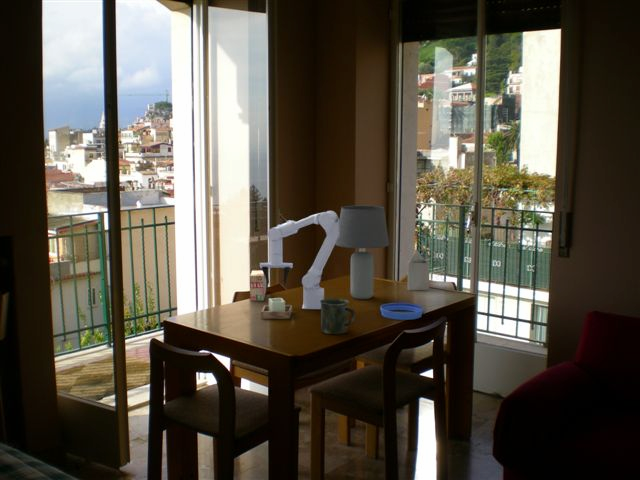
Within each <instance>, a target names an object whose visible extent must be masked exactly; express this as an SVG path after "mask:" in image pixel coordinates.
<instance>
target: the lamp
mask: <svg viewBox="0 0 640 480" xmlns="http://www.w3.org/2000/svg"><path fill="white" fill-rule="evenodd" d="M340 208H341V209H340V215H339V232H340V235H339V237H338V239H337V241H336V243H335V245H336V246H337V247H341V248H346V249H347V248H349V249H359V251H355V252H354V253H352V254H351V257H350V291H349V292H350V296H351V297H352V298H353V299H356V300H369V299H371V298H372V297H373V295H374V276H375V275H374V270H375V269H374V268H375V267H374V265H375V264H374V261H375V260H374V255H373V254H372V253H371V252H368V251H366V249H378V248H379V249H380V248H385V247H389V246H390V240H389V234H388V226H387V221H386V220H387V218H386V212H385V207H383V206H379V205H347V206H341V207H340Z"/></svg>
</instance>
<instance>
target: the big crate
mask: <svg viewBox="0 0 640 480" xmlns="http://www.w3.org/2000/svg"><path fill="white" fill-rule="evenodd" d="M292 313H293V305H291V304H287V305H286V304H285V312H272V311H269V304H268V305H267V304H264V305H263V307H262V309H261V311H260V314H261V315H260V317H261V318H260V319H261V320H291V317H292Z"/></svg>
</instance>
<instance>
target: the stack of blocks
mask: <svg viewBox="0 0 640 480" xmlns="http://www.w3.org/2000/svg"><path fill="white" fill-rule="evenodd" d="M249 288H250V289H249V291H250V293H249V297H250V298H249V299H250V302H259V301H260V302H261V301H264V300H265V297H266V296H265V295H266V294H267V281H266V278H265V275H264V273H263V271H262V269H260V270H259V269H258V270H251V273H250V275H249Z"/></svg>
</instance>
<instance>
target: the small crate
mask: <svg viewBox="0 0 640 480" xmlns="http://www.w3.org/2000/svg"><path fill="white" fill-rule="evenodd" d="M268 305H269V311H272V312H285V305H286V301H285V300H284V299H283V297H274V298H271V297H270V298H268Z"/></svg>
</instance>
